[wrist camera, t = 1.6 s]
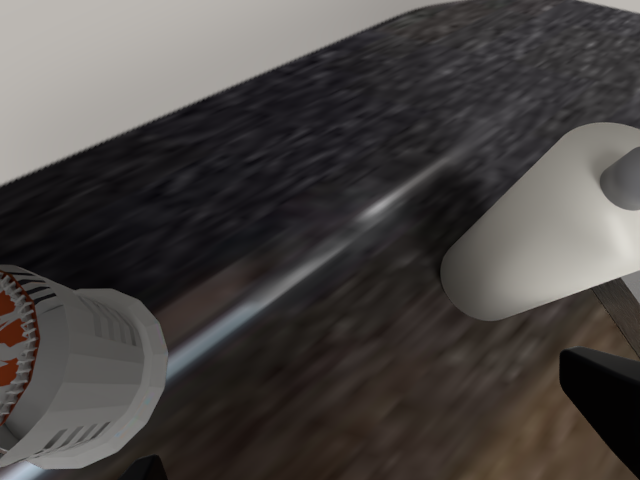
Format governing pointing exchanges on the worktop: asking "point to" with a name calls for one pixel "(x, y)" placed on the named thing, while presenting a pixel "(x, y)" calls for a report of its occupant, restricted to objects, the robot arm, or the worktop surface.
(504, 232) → the white bottle
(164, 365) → the french press
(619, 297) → the press bed
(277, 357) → the worktop surface
